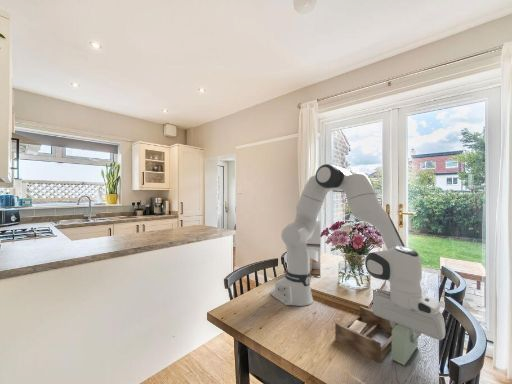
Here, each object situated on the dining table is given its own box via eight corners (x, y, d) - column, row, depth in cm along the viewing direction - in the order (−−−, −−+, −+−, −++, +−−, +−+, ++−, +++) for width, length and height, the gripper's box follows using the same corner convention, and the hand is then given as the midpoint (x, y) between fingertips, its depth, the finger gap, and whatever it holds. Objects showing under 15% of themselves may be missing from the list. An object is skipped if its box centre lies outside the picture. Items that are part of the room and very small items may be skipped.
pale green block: (391, 359, 71) (391, 330, 71) (406, 340, 80) (406, 315, 80) (404, 365, 69) (404, 335, 69) (417, 345, 78) (417, 319, 78)
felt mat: (391, 357, 73) (391, 356, 73) (402, 344, 79) (402, 343, 79) (409, 366, 69) (409, 365, 69) (419, 352, 76) (419, 350, 76)
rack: (335, 340, 82) (335, 323, 82) (360, 320, 95) (360, 306, 95) (379, 363, 70) (379, 344, 70) (401, 337, 83) (401, 321, 83)
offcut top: (347, 333, 83) (347, 329, 83) (356, 323, 90) (356, 319, 90) (358, 337, 80) (358, 334, 80) (366, 327, 87) (366, 323, 87)
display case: (302, 275, 147) (302, 222, 147) (303, 270, 157) (303, 220, 158) (320, 277, 144) (320, 222, 144) (320, 272, 154) (320, 220, 154)
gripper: (368, 289, 80) (368, 328, 80) (442, 312, 65) (442, 360, 65) (376, 284, 85) (376, 321, 84) (446, 305, 69) (446, 350, 69)
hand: (405, 338), depth 74 cm, fingers closed on pale green block, 3 cm apart
